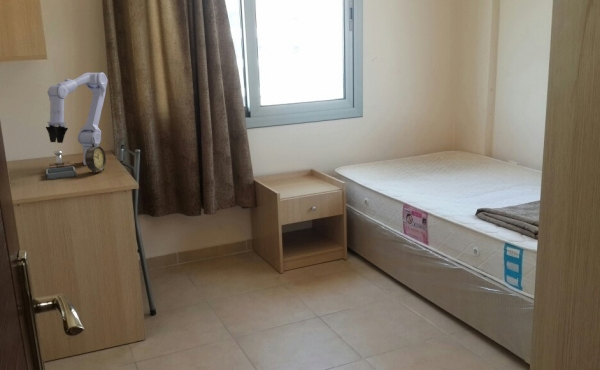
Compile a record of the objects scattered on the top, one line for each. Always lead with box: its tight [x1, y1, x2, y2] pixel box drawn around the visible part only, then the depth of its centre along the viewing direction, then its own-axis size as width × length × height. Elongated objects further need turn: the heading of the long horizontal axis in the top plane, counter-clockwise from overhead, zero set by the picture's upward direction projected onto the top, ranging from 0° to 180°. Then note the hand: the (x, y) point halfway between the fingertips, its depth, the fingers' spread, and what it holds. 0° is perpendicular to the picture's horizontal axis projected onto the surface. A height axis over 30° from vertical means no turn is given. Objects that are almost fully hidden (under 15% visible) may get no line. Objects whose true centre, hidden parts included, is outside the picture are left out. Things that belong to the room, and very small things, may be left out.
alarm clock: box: [85, 137, 107, 175], centre depth 285 cm, size 11×5×16 cm, turn 168°
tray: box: [45, 165, 77, 181], centre depth 282 cm, size 11×12×2 cm
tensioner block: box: [48, 160, 71, 169], centre depth 293 cm, size 9×9×3 cm
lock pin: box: [53, 150, 63, 165], centre depth 292 cm, size 3×3×9 cm
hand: (56, 142), depth 284 cm, fingers open, 7 cm apart
